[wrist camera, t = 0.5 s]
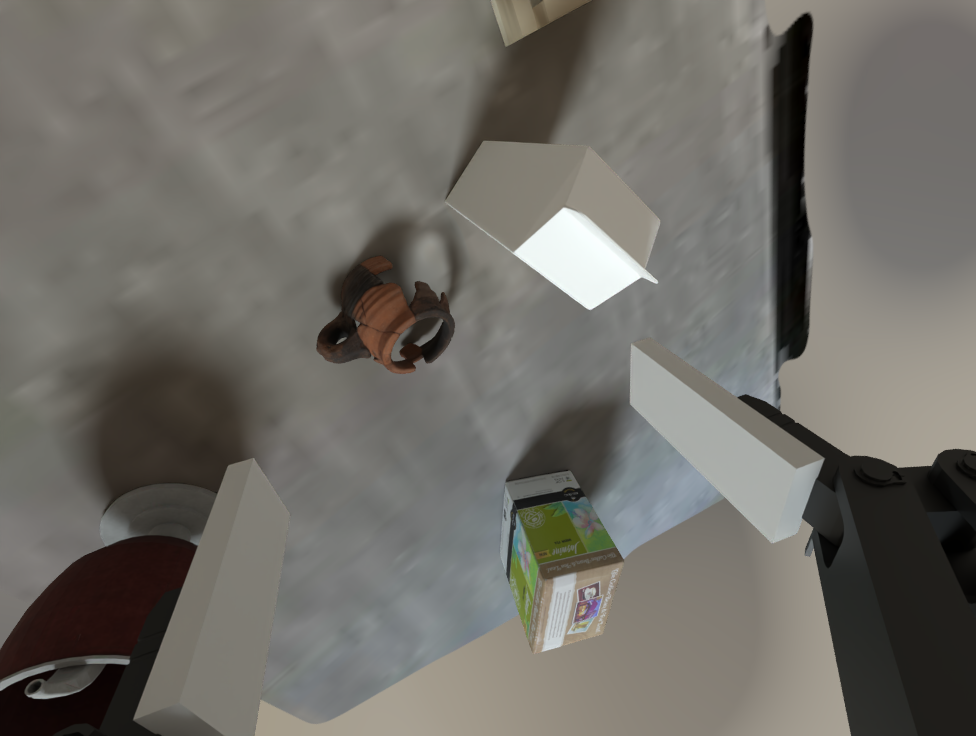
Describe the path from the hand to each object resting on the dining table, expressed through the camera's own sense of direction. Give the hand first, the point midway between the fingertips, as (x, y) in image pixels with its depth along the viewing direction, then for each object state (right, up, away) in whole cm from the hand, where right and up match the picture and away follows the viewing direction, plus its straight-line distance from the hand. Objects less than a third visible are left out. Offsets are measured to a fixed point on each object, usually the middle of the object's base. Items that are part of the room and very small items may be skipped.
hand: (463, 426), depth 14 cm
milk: (+1, +18, +23) cm, 29 cm away
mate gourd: (-33, -14, +30) cm, 47 cm away
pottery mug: (-9, +8, +26) cm, 28 cm away
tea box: (+7, -19, +46) cm, 50 cm away
